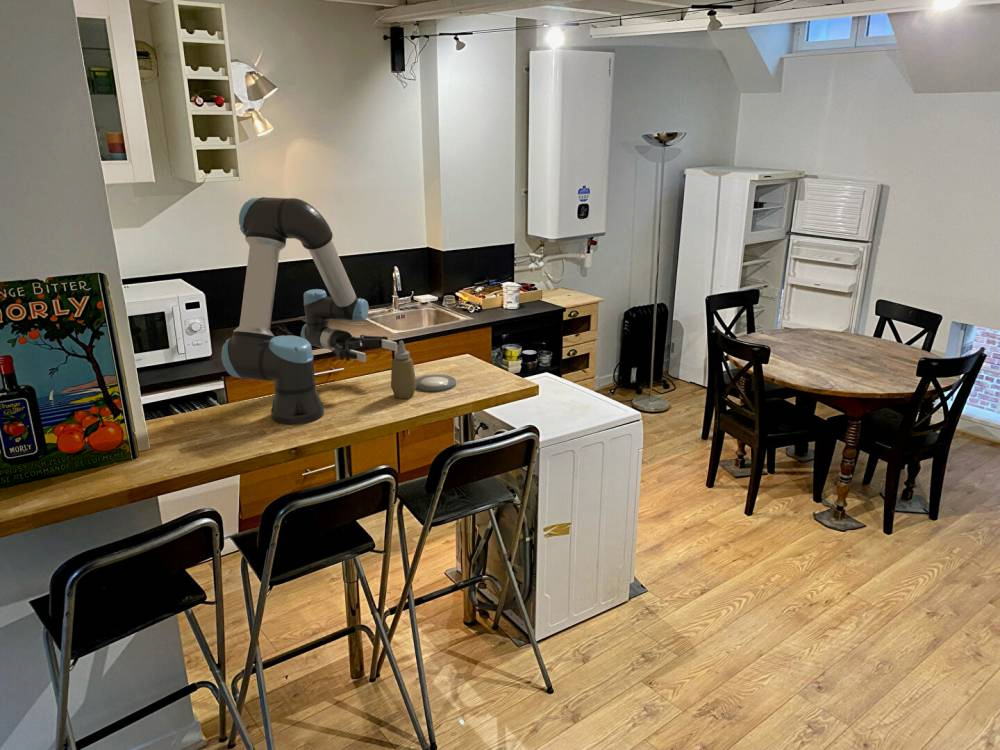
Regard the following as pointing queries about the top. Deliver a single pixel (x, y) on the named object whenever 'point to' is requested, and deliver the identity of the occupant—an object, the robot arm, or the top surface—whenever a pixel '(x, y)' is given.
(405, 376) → the squeeze bottle
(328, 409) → the top surface
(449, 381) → the coaster
